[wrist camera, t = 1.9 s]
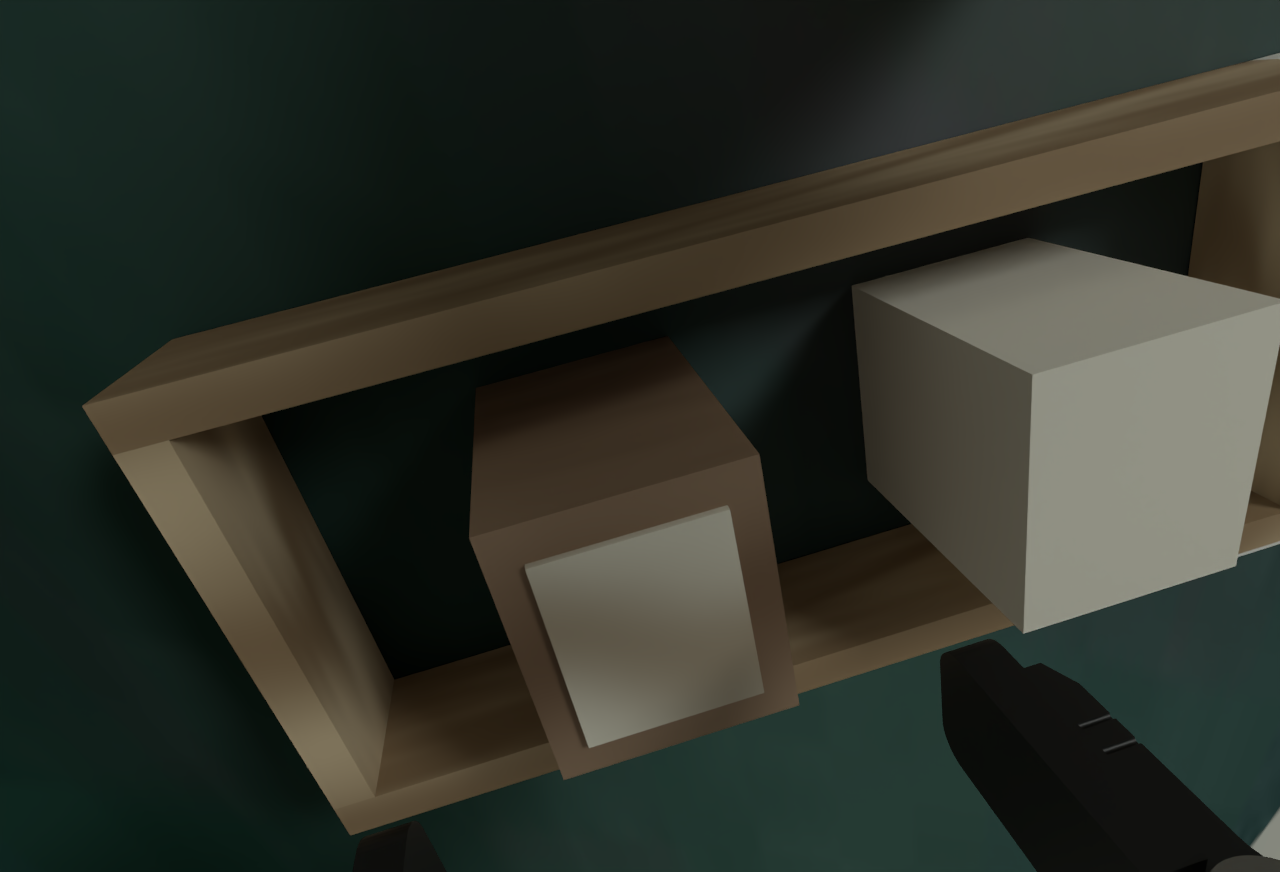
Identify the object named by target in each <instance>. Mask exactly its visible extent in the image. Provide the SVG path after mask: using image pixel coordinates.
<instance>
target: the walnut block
mask: <svg viewBox="0 0 1280 872" xmlns="http://www.w3.org/2000/svg"><path fill="white" fill-rule="evenodd" d="M469 539H470V542H471V544H472V547H473V549H474V552H475V554H476V557H477V559H478V562H479V565H480V567H481V570H482V572H483V575H484V577H485V580H486V582H487V585H488V588H489V590H490V593H491V595H492V598H493V600H494V603H495V605H496V608H497V611H498V613H499V616H500V618H501V621H502V623H503V626H504V628H505V631H506V633H507V636H508V639H509V641H510V644H511V646H512V649H513V651H514V654H515V656H516V659H517V662H518V664H519V667H520V669H521V672H522V674H523V677H524V679H525V682H526V684H527V687H528V690H529V692H530V695H531V697H532V700H533V702H534V705H535V707H536V710H537V713H538V715H539V718H540V720H541V723H542V725H543V728H544V730H545V733H546V736H547V738H548V741H549V743H550V746H551V748H552V751H553V753H554V756H555V758H556V761H557V764H558V766H559V769H560V771H561V774H562V776H563V779H564V780H566V779H569V778H572V777H575V776H578V775H581V774H584V773H588V772H591V771H594V770H597V769H600V768H603V767H606V766H610V765H613V764H616V763H619V762H622V761H625V760H628V759H631V758H635V757H638V756H641V755H644V754H647V753H650V752H653V751H657V750H660V749H663V748H666V747H669V746H672V745H675V744H679V743H682V742H685V741H688V740H691V739H694V738H697V737H700V736H704V735H707V734H710V733H713V732H716V731H719V730H722V729H726V728H729V727H732V726H735V725H738V724H741V723H744V722H748V721H751V720H754V719H757V718H760V717H763V716H766V715H770V714H773V713H776V712H779V711H782V710H785V709H788V708H791V707H795V706H798V705H799V699H798V693H797V687H796V681H795V674H794V668H793V662H792V655H791V649H790V643H789V637H788V630H787V624H786V618H785V612H784V605H783V599H782V593H781V586H780V580H779V574H778V568H777V561H776V555H775V549H774V542H773V536H772V530H771V524H770V517H769V511H768V505H767V498H766V492H765V486H764V480H763V473H762V467H761V461H760V454H759V453H758V452H757V450H756V449H755V448H754V446H753V445H752V444H751V443H750V441H749V440H748V439H747V437H746V436H745V435H744V434H743V432H742V431H741V430H740V428H739V427H738V426H737V425H736V423H735V422H734V421H733V419H732V418H731V417H730V415H729V414H728V413H727V412H726V410H725V409H724V408H723V406H722V405H721V404H720V403H719V401H718V400H717V399H716V397H715V396H714V395H713V394H712V392H711V391H710V390H709V388H708V387H707V386H706V385H705V383H704V382H703V381H702V379H701V378H700V377H699V376H698V374H697V373H696V372H695V370H694V369H693V368H692V367H691V365H690V364H689V363H688V361H687V360H686V359H685V358H684V356H683V355H682V354H681V352H680V351H679V350H678V349H677V347H676V346H675V345H674V343H673V342H672V341H671V339H670V338H669V337H668V336H665V337H661V338H657V339H654V340H650V341H646V342H643V343H639V344H635V345H632V346H628V347H624V348H621V349H617V350H613V351H610V352H606V353H602V354H599V355H595V356H591V357H588V358H584V359H580V360H577V361H573V362H569V363H566V364H562V365H558V366H555V367H551V368H547V369H544V370H540V371H536V372H533V373H529V374H525V375H522V376H518V377H514V378H511V379H507V380H503V381H500V382H496V383H492V384H489V385H485V386H481V387H478V388H476V396H475V418H474V440H473V462H472V484H471V506H470V528H469Z"/></svg>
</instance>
